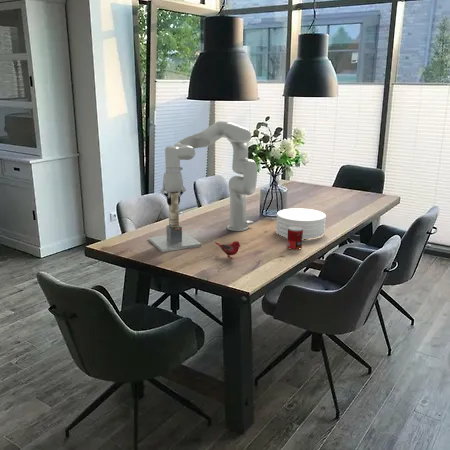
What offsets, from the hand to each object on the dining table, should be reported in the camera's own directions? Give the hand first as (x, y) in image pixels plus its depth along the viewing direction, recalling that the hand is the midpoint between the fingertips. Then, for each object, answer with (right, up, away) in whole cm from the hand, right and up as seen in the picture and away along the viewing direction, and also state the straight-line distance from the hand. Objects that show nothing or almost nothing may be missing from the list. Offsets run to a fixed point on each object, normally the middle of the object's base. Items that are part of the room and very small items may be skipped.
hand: (173, 204), depth 265 cm
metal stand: (0, -21, +6) cm, 22 cm away
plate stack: (+71, -16, +27) cm, 78 cm away
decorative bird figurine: (+28, -28, -14) cm, 42 cm away
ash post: (0, -13, +4) cm, 14 cm away
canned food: (+64, -23, +1) cm, 68 cm away
